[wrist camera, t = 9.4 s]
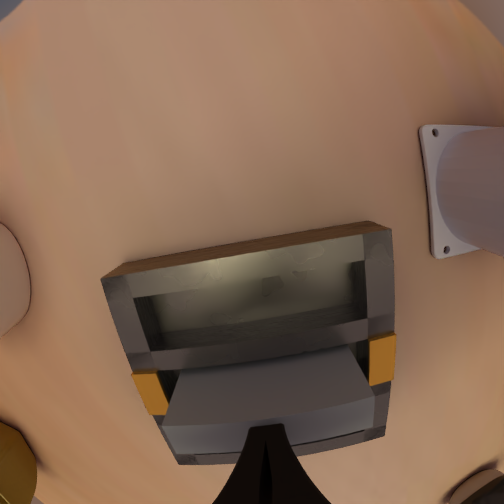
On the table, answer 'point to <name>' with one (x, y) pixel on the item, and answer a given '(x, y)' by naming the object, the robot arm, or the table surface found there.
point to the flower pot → (16, 468)
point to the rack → (259, 314)
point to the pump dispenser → (481, 489)
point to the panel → (269, 401)
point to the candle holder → (12, 282)
